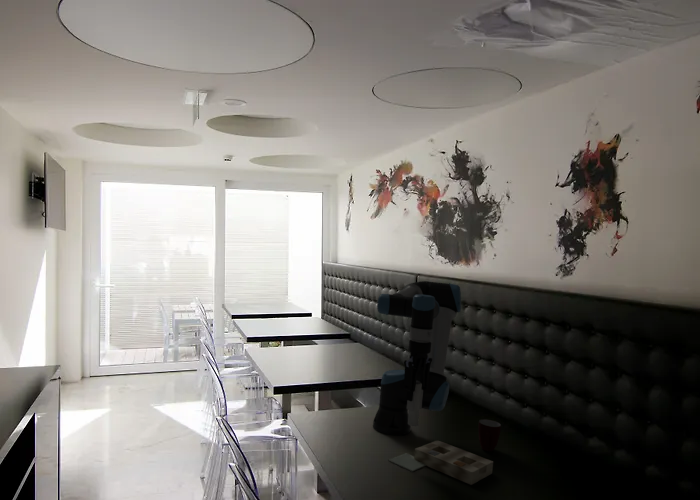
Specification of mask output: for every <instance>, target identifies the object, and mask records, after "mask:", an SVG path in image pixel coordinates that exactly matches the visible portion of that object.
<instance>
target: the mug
mask: <svg viewBox="0 0 700 500" xmlns="http://www.w3.org/2000/svg"><path fill="white" fill-rule="evenodd" d="M477 426H478V427H477V429H478V440H479V444H480V445H479V446H480V447H481V449H482V450H483V451H485V452H490V453H491V452H493V451H494V450H495V449H496V447H497V445H498V442H499V439H500V435H501V431H502V430H501V428H502V425H501V423H500V422H498V421H495V420H491V419H486V418H485V419H484V418H483V419H479V421H478V425H477Z"/></svg>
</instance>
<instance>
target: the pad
mask: <svg viewBox="0 0 700 500" xmlns="http://www.w3.org/2000/svg"><path fill="white" fill-rule="evenodd" d="M414 456H415V455H411V454H410V453H407V452H405V453H402V454H399V455H397V456H395V457H391V458H389V459H387V461H388V462H390V463H392V464H393V465H397V466H399V467H400V468H402V469H403V468H404V469H405V470H408V471H410V472H412V473H413V472H415V471H417V470H419V469H422V468H424V467H427V466H426V464H424V463H422V462H419V461H417V460H415V459H414Z"/></svg>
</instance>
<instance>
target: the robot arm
mask: <svg viewBox="0 0 700 500" xmlns="http://www.w3.org/2000/svg"><path fill="white" fill-rule="evenodd" d="M461 291H462V290H461V287H460V286H459V284H454V283H453V284H452V283H450V282H448V283H444V282H437V281H429V280H421V281H415V282H411V283H409V284H406V285H404V287H402V289H401V290H400V291H399V290H398V291H396V292H395V293H393V294H389V293H381V294H380V295H379V297H378V298H377V305H376V306H377V307H376V308H377V312H378V314H380V315H381V314H382V315H385V316H395V317H404V318H409V319H410V318H411V319H410V329H409V335H408V336H409V340H408V351H409V352H410V355H409V358H408V360H407V359H405V360H404V362H403V365H404V369H390V370H386V371H384V372H383V374H382V376H381V381H380V390H379V391H380V392H379V393H380V394H379V403H378V409H377V412H376V414H375V416H374V419H373V420H372V421H373V422H372V428H373V429H374V430H376V431H377V432H378V433H379V432H380V433H381V434H385V435H389V436H390V435H391V436H404V435H408V434H410V432H411V427H412V426H410V425H408V414H409V410H411V411H414V409H415V398H416V392H415V386H416V381H420V383H422V389H421V400H420V410H422V409H424V410H428V411H436V412H441V411H443V409H445V406H446V403H447V399H448V396H449V392H450V382H448V381H447V379H448V378H447V376H446V375H445V368H446V360H447V353H448V346H449V341H450V333H451V327H452V321H453V319H454V318H456V317H457V313H461V312H462V293H461Z"/></svg>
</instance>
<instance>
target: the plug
mask: <svg viewBox="0 0 700 500" xmlns="http://www.w3.org/2000/svg"><path fill="white" fill-rule="evenodd" d="M421 389H422V383H420V381H416V386H415V392H416V398H415V409H414V411H411V410H408V425H410V426H411V427H418V426H419V419H420V411H421V409H420V400H421Z"/></svg>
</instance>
